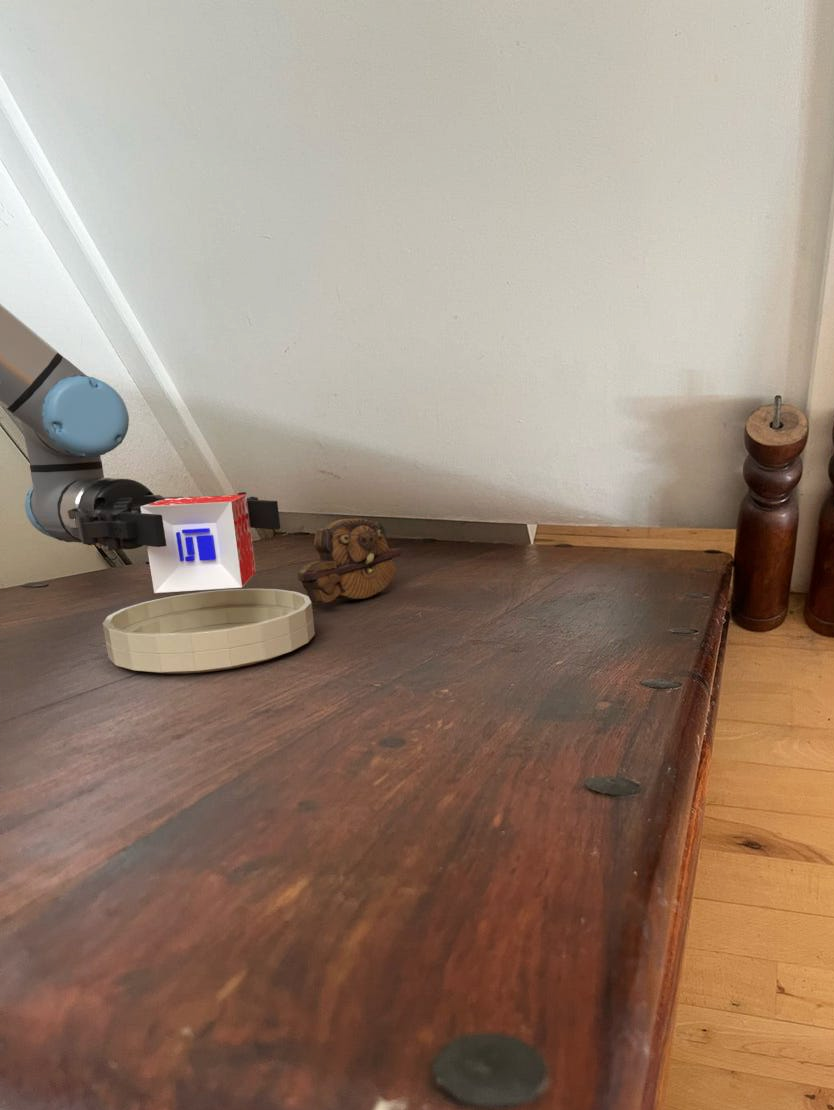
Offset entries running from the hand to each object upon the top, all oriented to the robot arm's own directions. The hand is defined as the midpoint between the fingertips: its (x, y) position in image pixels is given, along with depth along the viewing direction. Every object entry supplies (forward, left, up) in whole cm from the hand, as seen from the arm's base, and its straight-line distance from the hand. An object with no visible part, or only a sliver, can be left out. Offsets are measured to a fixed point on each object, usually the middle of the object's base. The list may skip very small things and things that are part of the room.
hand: (221, 522), depth 71 cm
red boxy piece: (-3, +3, -6) cm, 7 cm away
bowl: (-3, +3, -13) cm, 13 cm away
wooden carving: (+8, +23, -13) cm, 27 cm away
